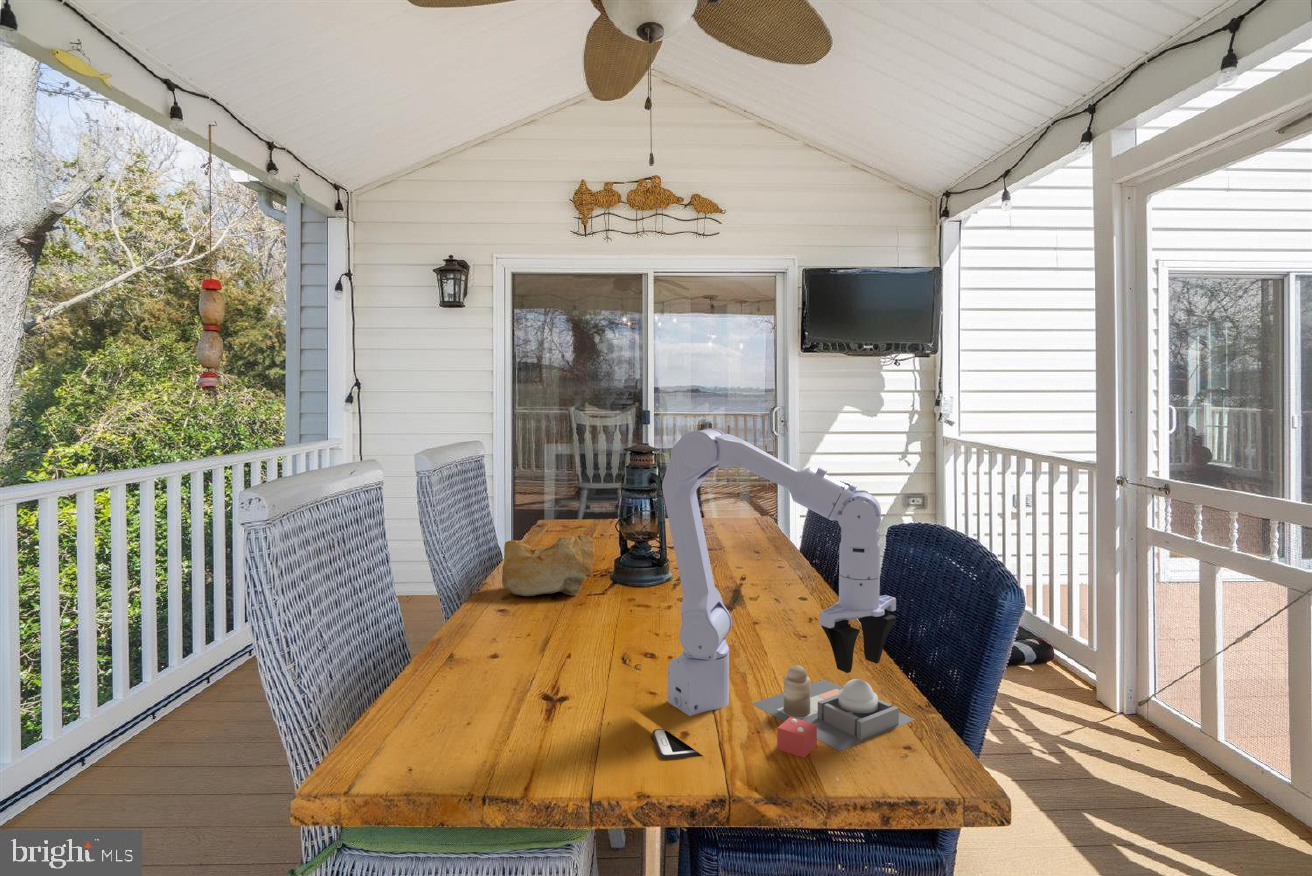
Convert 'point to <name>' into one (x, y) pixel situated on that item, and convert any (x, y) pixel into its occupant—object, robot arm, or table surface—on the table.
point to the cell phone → (672, 746)
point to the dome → (858, 697)
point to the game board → (838, 716)
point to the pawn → (797, 692)
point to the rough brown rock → (548, 566)
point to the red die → (797, 737)
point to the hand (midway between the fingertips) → (858, 665)
